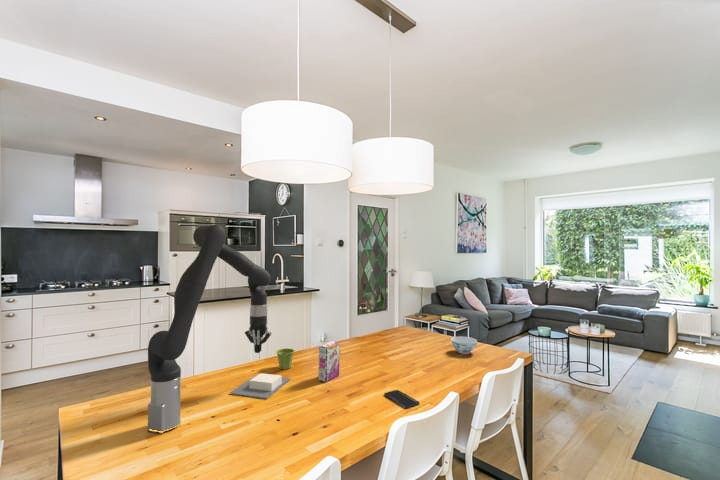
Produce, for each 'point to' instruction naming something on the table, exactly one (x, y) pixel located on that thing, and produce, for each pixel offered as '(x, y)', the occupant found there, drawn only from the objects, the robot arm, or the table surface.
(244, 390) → the slate mat
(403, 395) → the phone
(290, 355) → the plant pot
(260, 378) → the cream block
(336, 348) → the candy bar box
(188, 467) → the table surface
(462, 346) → the chinaware
